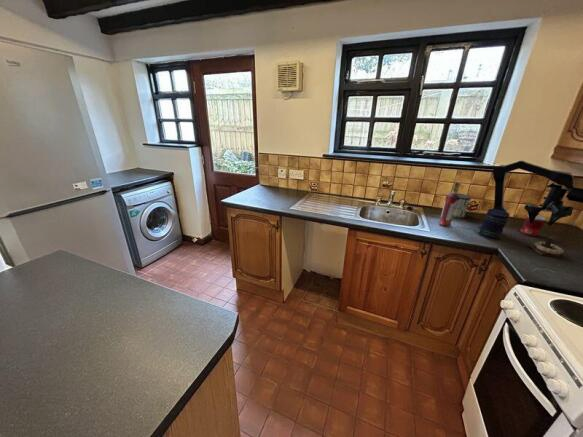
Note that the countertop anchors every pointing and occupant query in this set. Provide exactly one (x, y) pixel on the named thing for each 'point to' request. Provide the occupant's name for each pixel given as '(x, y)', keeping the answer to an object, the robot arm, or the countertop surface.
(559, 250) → the tape
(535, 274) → the countertop surface
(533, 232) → the canned food
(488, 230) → the storage jar
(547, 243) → the tape post
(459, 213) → the coffee can
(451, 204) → the liquor
